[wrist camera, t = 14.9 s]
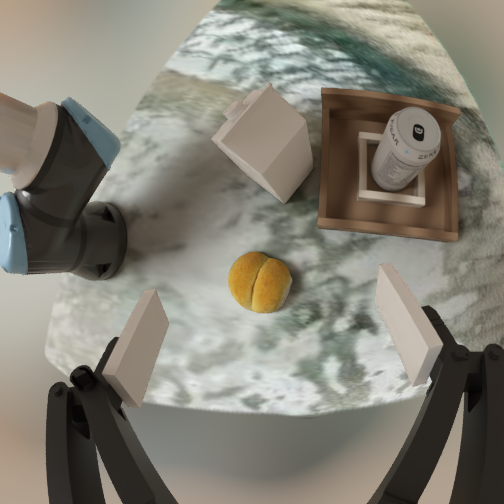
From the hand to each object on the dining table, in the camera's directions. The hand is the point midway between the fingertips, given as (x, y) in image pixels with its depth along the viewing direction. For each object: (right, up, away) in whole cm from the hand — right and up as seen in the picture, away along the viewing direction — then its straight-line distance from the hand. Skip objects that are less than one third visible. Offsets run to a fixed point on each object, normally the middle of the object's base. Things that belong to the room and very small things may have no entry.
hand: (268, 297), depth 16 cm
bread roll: (+1, -2, +26) cm, 26 cm away
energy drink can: (+19, +14, +20) cm, 31 cm away
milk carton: (+3, +14, +25) cm, 29 cm away
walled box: (+19, +14, +21) cm, 31 cm away
